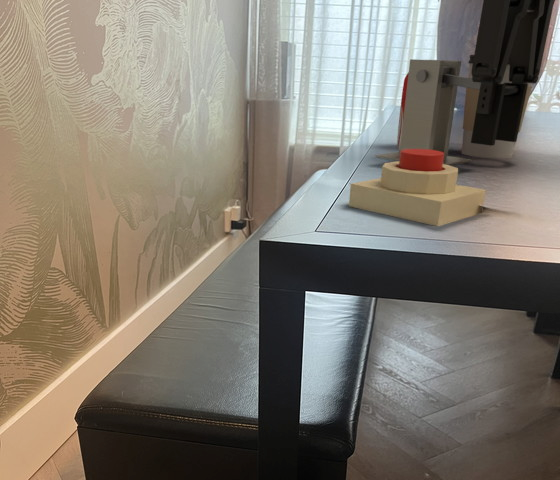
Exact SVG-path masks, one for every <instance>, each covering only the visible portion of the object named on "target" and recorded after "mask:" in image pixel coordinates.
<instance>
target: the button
mask: <svg viewBox="0 0 560 480" xmlns="http://www.w3.org/2000/svg"><path fill="white" fill-rule="evenodd" d="M399 152H400V160H399V168H400V169H406V170H412V171H442V166H443V159H444V153H443V152H441V151H436V150H428V149H404V150H401V151H400V150H399Z"/></svg>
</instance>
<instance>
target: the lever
mask: <svg viewBox="0 0 560 480" xmlns="http://www.w3.org/2000/svg"><path fill="white" fill-rule="evenodd" d="M449 70H450V67H445V66H444V70H443V77H442V85H441V88H445V87H446V84H451V85H456V86H458V87H462V88H471V89H476V90H480V86H481V83H480V82H473V80H472V78H468V76H467V77H466V76H462V75H459V76H457V75H451V74H449ZM504 84H506V87H505V92H504V97H512V96H517V95H518V94H519V93H520V91H521V86H520V85H519V84H518V83H504Z"/></svg>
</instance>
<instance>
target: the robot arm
mask: <svg viewBox="0 0 560 480" xmlns="http://www.w3.org/2000/svg"><path fill="white" fill-rule="evenodd" d="M555 2H556V0H483V2H482V7H481V12H480V19H479V25H478V30H477V36H476V43H475V49H474V54H473V55H474V59H473V65H472V72H471V73H472V80H473V82H480V83H481V86H480V92H479V97H478V103H477V109H476V115H475V121H474V127H473V133H472V138H471V143H475V144H483V145H490V146H493V145H495V140H501V141H509V142H516V143H517V141H518V136H519V132H518V131H519V126H520V122H521V117H522V112H523V107H524V102H525V97H526V92H527V87H528V84H527V83H531V84H537V83H538V81H539V78H540V77H539V76H540V72H541V68H542V64H543V58H544V53H545V49H546V44H547V39H548V34H549V30H550V24H551V19H552V15H553V11H554V5H555ZM510 53H511V58H510V70H509V81H510V82H512V83H518V84H519V85H520V86H521V91H520V93H519V94H518V95H517V96H512V97H504V92H505V87H506V84H500V83H501V82H502V80H503V77H504V73H505V70H506V67H507V63H508V60H509V56H510Z"/></svg>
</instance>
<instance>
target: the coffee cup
mask: <svg viewBox="0 0 560 480" xmlns="http://www.w3.org/2000/svg"><path fill="white" fill-rule="evenodd" d="M510 58H511V53H510V56H509V60H508V63H507V67H506V70H505V73H504V77H503V80H502V82H501V83H500V84H504V83H512V82H510V81H509V70H510ZM473 59H474V54H470V55H469V60H468V62H467V64H469V65H468V74H467V78H472V73H471V72H472V65H473ZM527 84H528V87H527V92H526V97H525V102H524V107H523V112H522V117H521V122H520V126H519V131H518V133H520V132H521V129H522V126H523V121H524V119H525V114H526V111H527V107H528V103H529V99H530V96H531V92H532V88H533V86H532V83H527ZM465 88H466V87H465ZM479 92H480V90H476V89H471V88H466V89H465V98H464V107H463V108H464V109H463V119H462V120H463V121H462V129H463V132H462V133H463V134H462V142H461V143H462V144H461V154H462V155H465V156H468V157H475V158H483V159H509V158H512V157H513V154H514V152H515V151H514V150H515V147H516V143H517V141H516V142H509V141H501V140H495V145H493V146H490V145H483V144H475V143H471V138H472V133H473V127H474V121H475V115H476V109H477V103H478V97H479Z"/></svg>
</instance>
